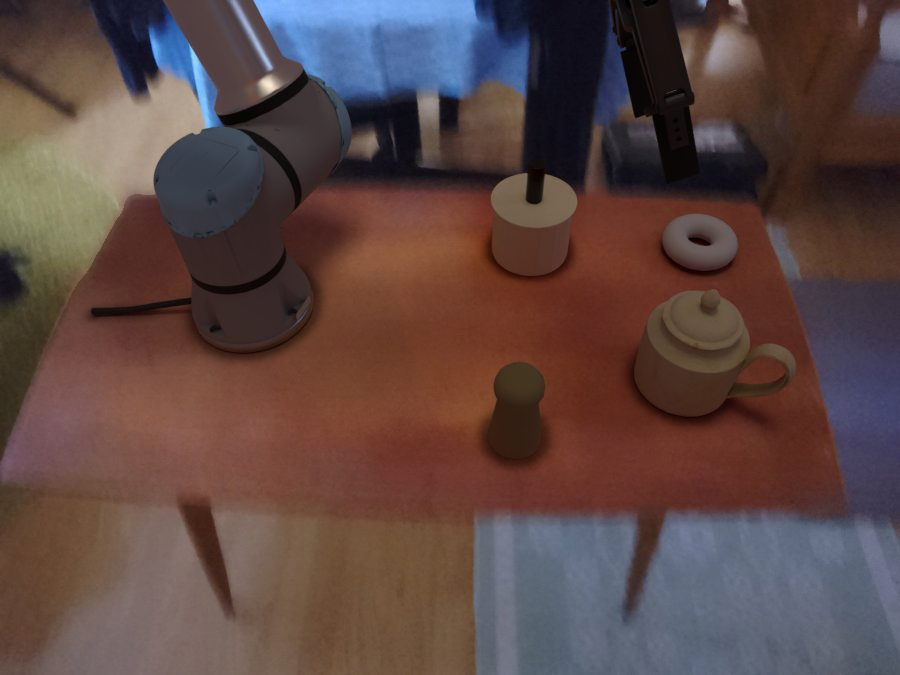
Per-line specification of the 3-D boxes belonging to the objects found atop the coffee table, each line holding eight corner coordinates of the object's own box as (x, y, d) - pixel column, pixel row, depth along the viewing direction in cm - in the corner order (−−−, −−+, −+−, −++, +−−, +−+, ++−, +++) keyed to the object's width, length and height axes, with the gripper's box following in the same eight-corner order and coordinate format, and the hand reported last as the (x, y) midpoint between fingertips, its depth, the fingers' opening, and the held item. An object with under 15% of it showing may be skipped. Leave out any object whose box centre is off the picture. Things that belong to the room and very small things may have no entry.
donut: (666, 277, 91) (742, 276, 91) (672, 258, 89) (750, 257, 88) (653, 227, 98) (724, 226, 97) (658, 208, 95) (731, 207, 95)
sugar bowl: (756, 350, 83) (802, 260, 71) (769, 427, 76) (823, 341, 64) (631, 338, 84) (657, 248, 73) (633, 412, 78) (662, 325, 66)
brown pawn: (508, 468, 73) (513, 411, 65) (476, 428, 77) (477, 369, 68) (552, 442, 75) (563, 383, 67) (520, 404, 79) (526, 343, 70)
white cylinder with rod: (506, 241, 85) (509, 199, 80) (479, 188, 92) (480, 146, 87) (590, 224, 87) (597, 181, 82) (557, 173, 94) (562, 130, 89)
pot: (506, 283, 91) (508, 235, 85) (482, 233, 98) (483, 185, 91) (578, 267, 93) (586, 219, 86) (550, 219, 99) (556, 171, 93)
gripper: (715, -122, 38) (751, 195, 51) (632, -160, 57) (673, 78, 70) (584, -67, 40) (651, 226, 53) (546, -122, 59) (601, 103, 72)
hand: (664, 142), depth 62 cm, fingers open, 13 cm apart
